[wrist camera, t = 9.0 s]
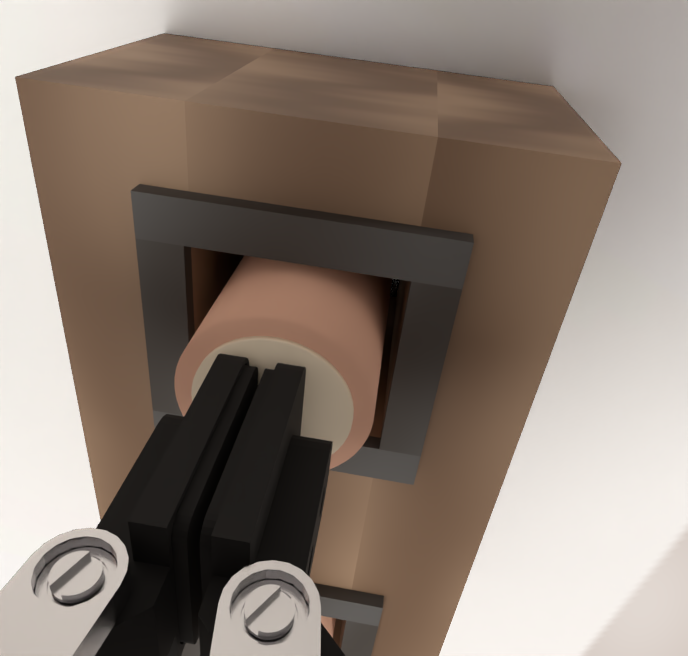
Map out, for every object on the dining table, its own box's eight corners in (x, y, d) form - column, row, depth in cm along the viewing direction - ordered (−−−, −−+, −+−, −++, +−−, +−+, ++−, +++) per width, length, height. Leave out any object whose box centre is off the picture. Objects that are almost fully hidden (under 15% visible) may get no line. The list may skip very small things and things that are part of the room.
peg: (405, 197, 16) (387, 341, 10) (385, 319, 18) (360, 495, 12) (264, 176, 16) (164, 304, 10) (260, 299, 19) (176, 463, 13)
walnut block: (553, 86, 16) (628, 169, 10) (415, 569, 28) (409, 744, 22) (163, 33, 17) (1, 80, 10) (193, 529, 29) (126, 687, 22)
